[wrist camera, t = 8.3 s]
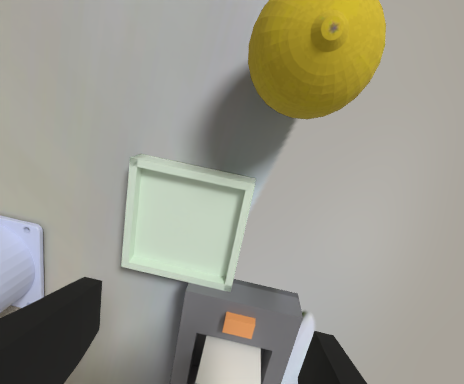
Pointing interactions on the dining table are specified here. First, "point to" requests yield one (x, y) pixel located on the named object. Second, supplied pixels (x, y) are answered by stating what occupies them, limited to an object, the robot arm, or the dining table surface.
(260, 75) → the lemon
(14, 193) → the dining table surface
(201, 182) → the tray
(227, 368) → the plug
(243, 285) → the power strip
